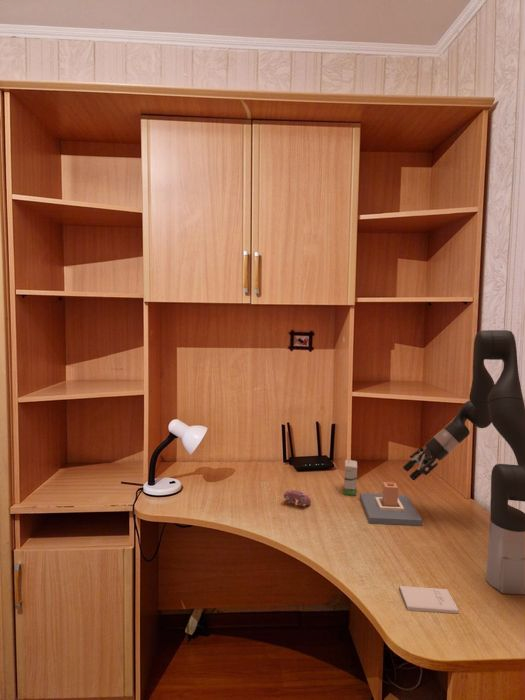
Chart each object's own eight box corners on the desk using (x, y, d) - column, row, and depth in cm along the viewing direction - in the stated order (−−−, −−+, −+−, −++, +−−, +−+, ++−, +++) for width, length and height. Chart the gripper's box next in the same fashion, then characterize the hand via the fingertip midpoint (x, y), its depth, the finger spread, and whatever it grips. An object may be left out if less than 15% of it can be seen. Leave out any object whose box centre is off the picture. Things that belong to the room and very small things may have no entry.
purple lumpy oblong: (284, 506, 164) (281, 493, 160) (288, 496, 167) (285, 484, 164) (308, 512, 159) (306, 499, 156) (312, 502, 163) (310, 489, 159)
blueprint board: (422, 525, 148) (422, 516, 147) (369, 523, 149) (369, 514, 148) (406, 500, 167) (406, 492, 167) (359, 497, 169) (360, 490, 168)
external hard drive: (398, 590, 114) (446, 593, 113) (406, 612, 106) (458, 615, 105) (399, 585, 114) (446, 588, 113) (407, 606, 106) (458, 609, 105)
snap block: (397, 508, 155) (398, 485, 155) (384, 508, 156) (385, 484, 155) (394, 503, 160) (395, 480, 159) (382, 502, 160) (383, 480, 159)
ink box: (356, 496, 170) (357, 467, 169) (343, 495, 171) (344, 466, 170) (356, 487, 178) (357, 459, 177) (344, 486, 179) (345, 458, 178)
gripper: (428, 431, 161) (395, 459, 163) (441, 443, 147) (406, 473, 149) (441, 445, 162) (409, 473, 163) (456, 458, 148) (421, 489, 149)
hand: (407, 473), depth 156 cm, fingers open, 8 cm apart
